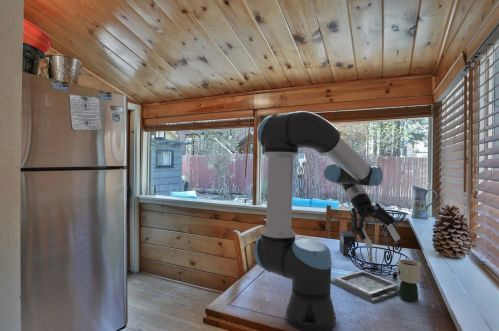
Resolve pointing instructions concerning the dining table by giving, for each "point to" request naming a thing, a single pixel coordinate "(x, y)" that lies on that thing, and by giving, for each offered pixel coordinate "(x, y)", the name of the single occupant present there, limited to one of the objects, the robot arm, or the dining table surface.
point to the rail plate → (367, 286)
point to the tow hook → (370, 254)
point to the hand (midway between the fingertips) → (384, 243)
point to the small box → (347, 242)
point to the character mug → (408, 279)
